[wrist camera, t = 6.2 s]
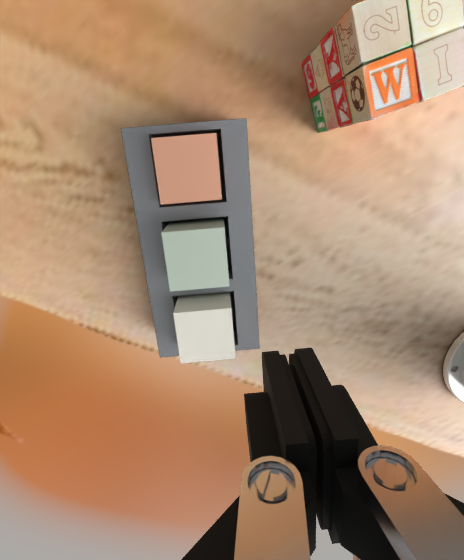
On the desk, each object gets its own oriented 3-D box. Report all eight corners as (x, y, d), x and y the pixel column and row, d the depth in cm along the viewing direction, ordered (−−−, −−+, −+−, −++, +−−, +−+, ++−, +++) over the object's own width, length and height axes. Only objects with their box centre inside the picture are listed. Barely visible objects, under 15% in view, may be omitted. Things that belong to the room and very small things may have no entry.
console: (241, 125, 32) (246, 118, 27) (254, 325, 39) (259, 348, 34) (135, 133, 31) (120, 128, 27) (166, 333, 38) (159, 357, 34)
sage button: (223, 217, 31) (224, 227, 27) (227, 268, 33) (229, 286, 28) (169, 222, 31) (161, 232, 27) (176, 273, 33) (169, 291, 28)
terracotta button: (216, 137, 31) (216, 132, 26) (221, 194, 32) (222, 199, 27) (161, 142, 30) (151, 138, 26) (168, 198, 32) (160, 204, 27)
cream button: (229, 287, 34) (231, 308, 29) (233, 332, 35) (235, 358, 31) (179, 292, 34) (173, 313, 29) (185, 336, 35) (180, 363, 31)
